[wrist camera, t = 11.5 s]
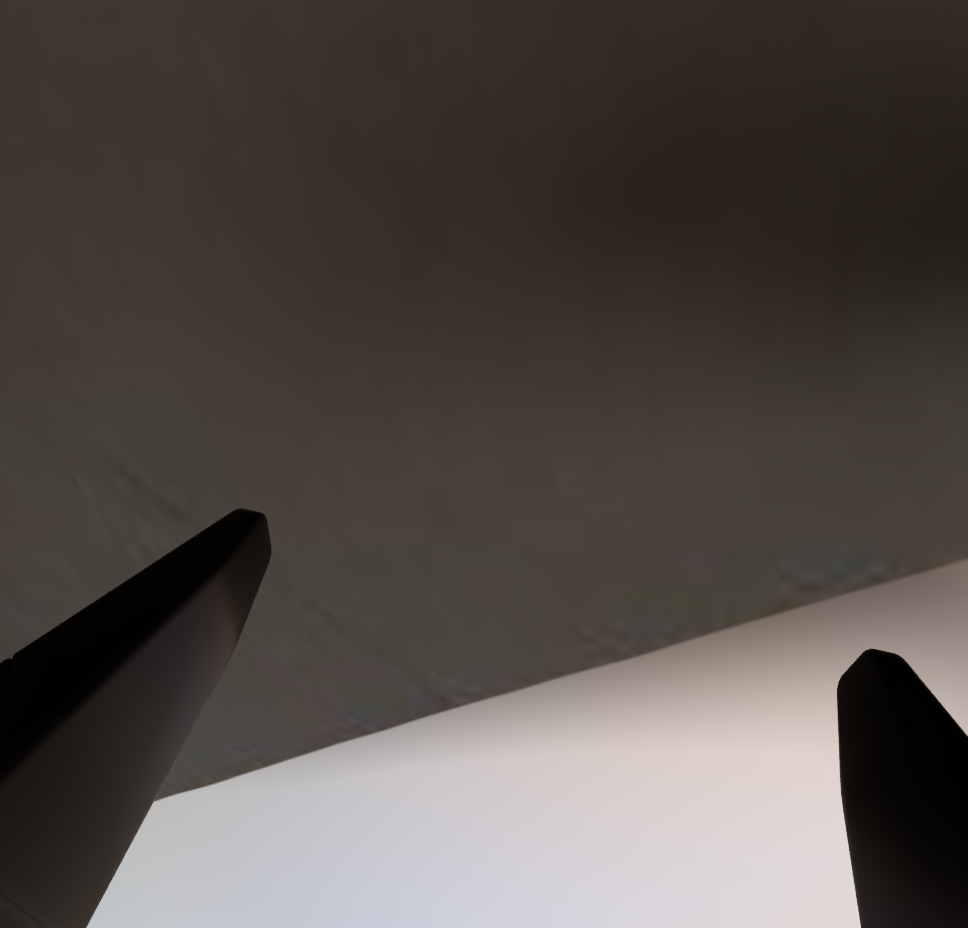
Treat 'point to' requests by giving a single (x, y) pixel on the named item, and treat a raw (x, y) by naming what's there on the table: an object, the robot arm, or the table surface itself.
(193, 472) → the table surface
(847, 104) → the table surface
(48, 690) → the robot arm
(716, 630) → the table surface
